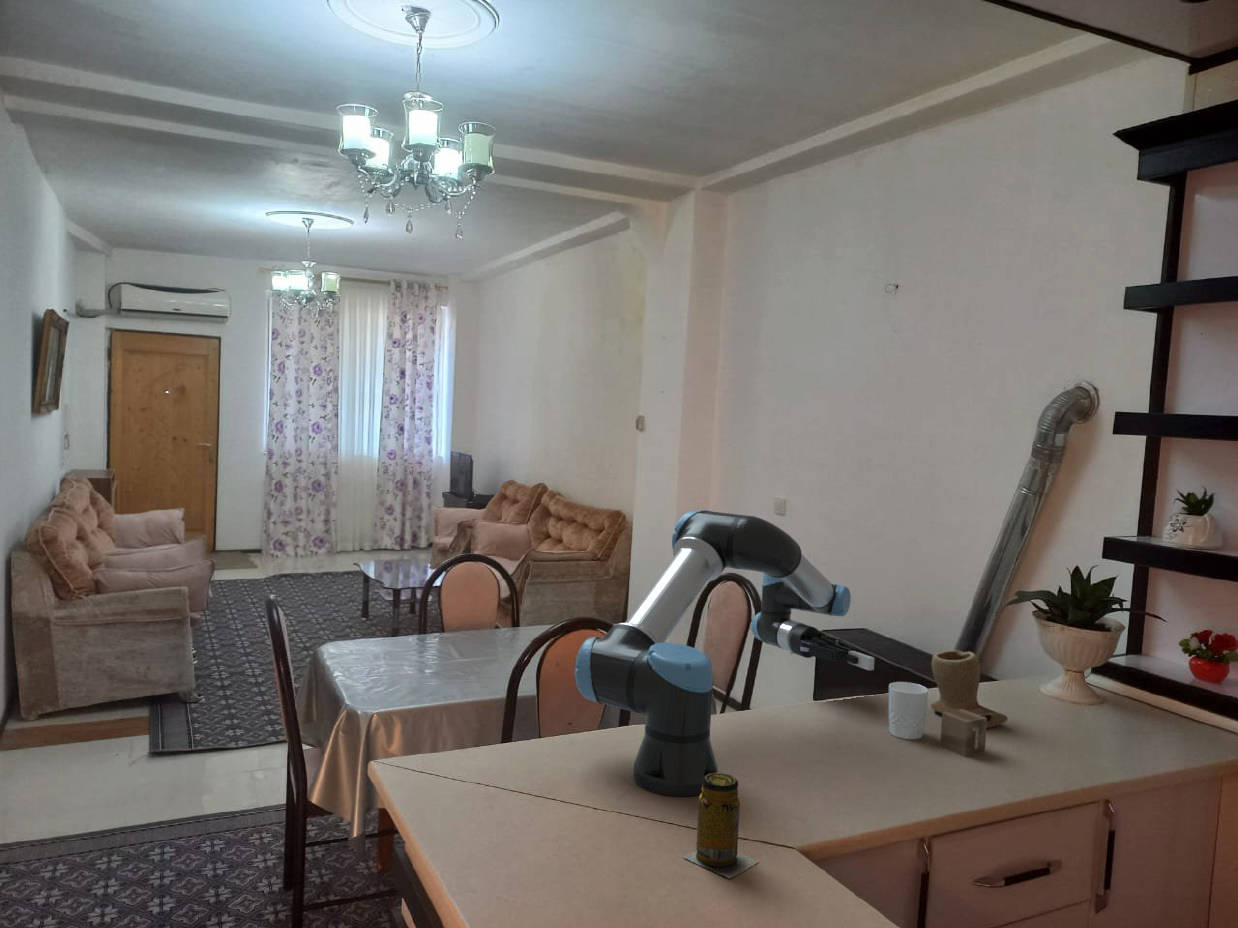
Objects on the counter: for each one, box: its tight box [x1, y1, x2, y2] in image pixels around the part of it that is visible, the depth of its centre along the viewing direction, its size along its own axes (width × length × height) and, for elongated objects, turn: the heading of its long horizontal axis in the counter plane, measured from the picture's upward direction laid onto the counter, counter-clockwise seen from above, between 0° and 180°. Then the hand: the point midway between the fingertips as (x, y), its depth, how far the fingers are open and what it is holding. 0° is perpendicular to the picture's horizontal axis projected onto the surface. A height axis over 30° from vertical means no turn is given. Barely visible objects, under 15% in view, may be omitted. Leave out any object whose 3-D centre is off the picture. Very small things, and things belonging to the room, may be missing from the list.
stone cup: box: [930, 649, 1009, 729], centre depth 198 cm, size 15×12×15 cm
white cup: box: [888, 681, 929, 741], centre depth 187 cm, size 8×8×10 cm
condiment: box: [683, 772, 759, 879], centre depth 131 cm, size 7×8×12 cm
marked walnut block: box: [939, 709, 987, 758], centre depth 180 cm, size 6×6×7 cm
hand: (871, 664), depth 197 cm, fingers closed
